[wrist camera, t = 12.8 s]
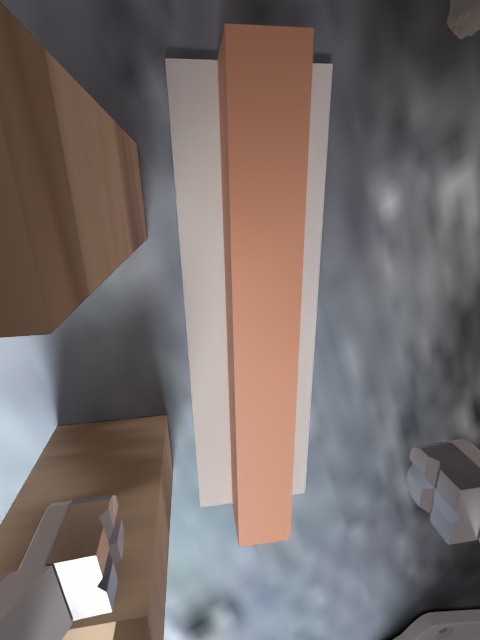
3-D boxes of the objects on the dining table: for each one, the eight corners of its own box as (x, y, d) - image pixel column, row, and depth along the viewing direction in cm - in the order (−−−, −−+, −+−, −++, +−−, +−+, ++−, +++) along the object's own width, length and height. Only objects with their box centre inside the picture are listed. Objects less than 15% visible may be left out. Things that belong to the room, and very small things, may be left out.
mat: (329, 67, 15) (332, 63, 14) (303, 488, 23) (304, 493, 22) (165, 62, 14) (164, 58, 13) (200, 502, 22) (200, 507, 22)
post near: (137, 144, 14) (-35, -35, 3) (147, 238, 16) (49, 334, 5) (-14, 143, 14) (-889, -91, 3) (11, 243, 15) (-490, 370, 4)
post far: (166, 414, 19) (137, 711, 8) (173, 469, 21) (154, 785, 10) (57, 426, 19) (-142, 770, 7) (71, 481, 20) (-78, 841, 9)
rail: (289, 62, 14) (314, 28, 11) (277, 496, 22) (290, 539, 19) (217, 59, 14) (225, 23, 11) (232, 502, 22) (239, 547, 19)
